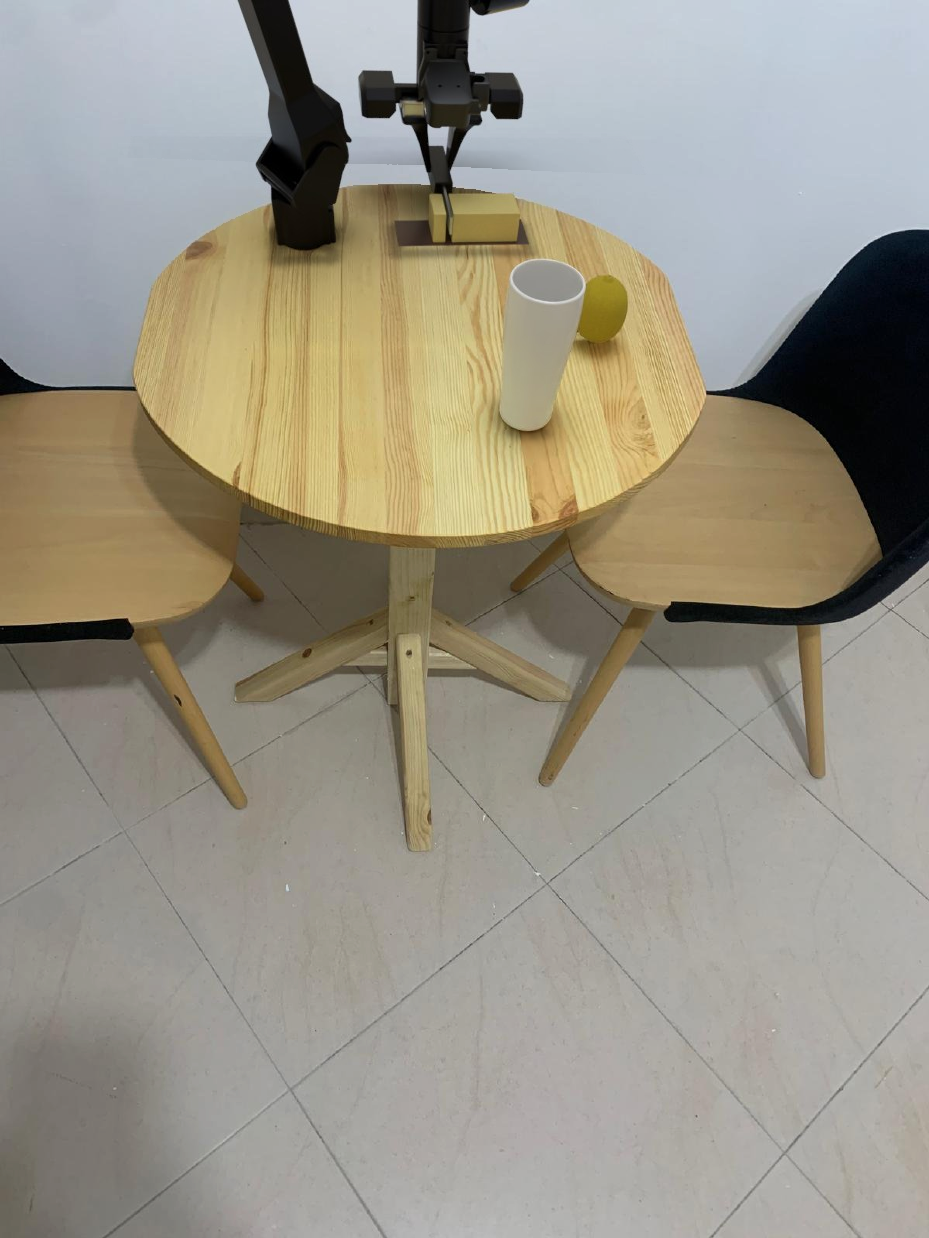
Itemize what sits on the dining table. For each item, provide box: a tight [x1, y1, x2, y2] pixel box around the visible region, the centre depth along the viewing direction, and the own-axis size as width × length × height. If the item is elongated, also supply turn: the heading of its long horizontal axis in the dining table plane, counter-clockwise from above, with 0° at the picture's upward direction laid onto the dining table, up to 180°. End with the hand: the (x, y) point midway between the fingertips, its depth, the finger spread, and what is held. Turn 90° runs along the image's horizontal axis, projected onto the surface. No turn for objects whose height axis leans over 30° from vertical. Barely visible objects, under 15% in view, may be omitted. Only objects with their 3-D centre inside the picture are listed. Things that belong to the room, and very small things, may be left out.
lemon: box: [577, 274, 629, 344], centre depth 82 cm, size 6×6×8 cm
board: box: [393, 218, 530, 247], centre depth 95 cm, size 16×6×1 cm, turn 98°
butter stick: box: [448, 192, 521, 242], centre depth 93 cm, size 8×4×4 cm, turn 98°
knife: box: [427, 145, 454, 234], centre depth 94 cm, size 2×16×2 cm, turn 8°
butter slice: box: [428, 193, 446, 243], centre depth 92 cm, size 2×4×4 cm, turn 8°
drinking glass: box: [498, 258, 587, 432], centre depth 72 cm, size 7×7×15 cm
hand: (437, 171), depth 97 cm, fingers closed on knife, 2 cm apart
